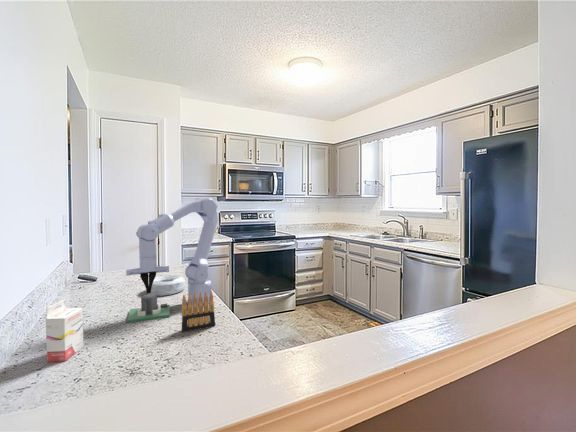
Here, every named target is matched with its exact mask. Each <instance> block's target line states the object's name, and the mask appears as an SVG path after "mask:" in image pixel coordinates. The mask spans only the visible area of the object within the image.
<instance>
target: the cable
mask: <svg viewBox="0 0 576 432" xmlns="http://www.w3.org/2000/svg"><path fill="white" fill-rule="evenodd" d="M148 283H149V280H148ZM185 288H186V280H185V278H184V277H183V276H181V275H177V274H166V275H160V276H155V279H154V281H153V284H152V288H151V293H147V294H151V295H157V297H158V296H160V297H161V296H163V297H164V296H171V295H174V294H178V293H180V292H182V291H183V290H185Z"/></svg>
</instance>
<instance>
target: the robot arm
mask: <svg viewBox="0 0 576 432" xmlns="http://www.w3.org/2000/svg"><path fill="white" fill-rule="evenodd" d="M217 210H218V205H217V203H216V201H215V200H214V199H213V198H210V197H207V198H206V197H205V198H200V197H199V198H195V199H194V200H191V201H189V202H188V203H186V204H184V205H183V206H182V207H179V208H178V209H176V210H175V211H173V212H172V213H170V214H169V213H160V214H158V217H156V218H155V219H152V220H149V221H147V224H142V225H140V226H138V229H137V230H136V232H135V234H136V236H137V238H138V255H139V267H137V268H136V267H135V268H130V269H129V268H128V269H127V268H126V271H125V272H126V273H125V276H126V277H127V276H134V275H139V276H140V277H139V278H140V280H141V281H142V283H143V284H144V287H145V290H146V294H148V293H151V288H152V284H153V281H154V279H155V278H156V277H157V273H158V274H159V273H169V272H170V266H169V265H168V266H167V265H165V266H159V265H158V266H157V244H156V239H157V238H158V236H159V235H161V234H162V233H164V232H166V231H167V230H169V229H170V228H172V227H174V225H175V222H176V221H178V220H180V219H182V218H185V216H188V215H190V214H192V213H196V214H198V215H199V216H200V218H201V220H203V224H202V229H201V232H200V236H199V239H198V243H197V245H196V246H197V247H196V250H195V253H194V256H193V258H192V259H191V260H190V261H189V264H188V265H187V266H186V269H184V270H185V271H184V272H185V273H184V274H185V277H186V278H187V291H188V292H187V295H188V296H189V294H190V295H191V299H192V307H193V298H194V294H195V293H196V296H197V304H199V294H200V292H201V294H202V301H203V305H204V295H205V292H207V296H208V304H209V299H210V292H211V291H213V290H212V281H211V280H208V277H209V275H210V273H209V267H210V264H209V262H208V259H209V254H210V251H211V247H212V243H213V239H214V236H215V232H216V228H217V226H218V221H219V218H218V211H217ZM148 281H149V283H148ZM186 304H188V299H186Z"/></svg>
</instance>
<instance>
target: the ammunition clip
mask: <svg viewBox="0 0 576 432" xmlns="http://www.w3.org/2000/svg"><path fill="white" fill-rule="evenodd" d="M212 291H213V290H212ZM212 291H211V292H210V299H209V304H208V296H207V292H205V295H204V304H203V301H202V294H201V292H200V294H199V304H197V296H196V293H195V294H194V298H193V306H192V299H191V295H190V294H189V296H188V297H186V295H185V294H183V295H182V303H181V304H182V305H181V332H182V333H184V332H189V330H191V331H196V330H201V329H200V328H202V329H207V328H206V327H208V328H213V327H215V326H216V321H215V320H216V318H215V317H216V316H215V302H214V293H213V292H212ZM186 298H187V299H186ZM187 300H188V303H187ZM212 326H213V327H212ZM195 329H196V330H195Z"/></svg>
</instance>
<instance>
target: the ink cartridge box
mask: <svg viewBox="0 0 576 432" xmlns="http://www.w3.org/2000/svg"><path fill="white" fill-rule="evenodd" d="M56 307H58V308H56ZM55 308H56V309H55ZM83 311H84V310H83V307H76V308H75V307H74V308H73V307H71V308H70V307H69V308H67V298H64V299H62V300H59V301H58V302H56V303H55V302H54V303H53V304H51V305H50V306H47V307H46V311H45V313H46V314H45V336H46V338H45V340H46V361H47V363H51V362H66V361H67V360H68V359H70V358H71V357H72V356H74V355H75V354H76V353H78V352H79V351H80V350H82V349H83V348H84V317H83V315H84V312H83Z"/></svg>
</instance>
